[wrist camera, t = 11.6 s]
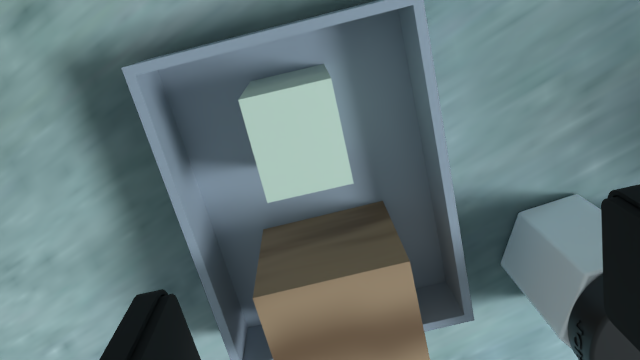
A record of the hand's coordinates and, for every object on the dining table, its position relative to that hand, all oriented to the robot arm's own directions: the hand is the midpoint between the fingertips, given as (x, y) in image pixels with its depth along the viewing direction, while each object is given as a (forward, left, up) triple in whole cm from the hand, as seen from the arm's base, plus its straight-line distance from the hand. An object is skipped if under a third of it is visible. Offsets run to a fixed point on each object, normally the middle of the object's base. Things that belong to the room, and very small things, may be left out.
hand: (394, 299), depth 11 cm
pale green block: (0, -2, -24) cm, 24 cm away
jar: (+16, +15, -25) cm, 33 cm away
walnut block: (+11, -2, -24) cm, 26 cm away
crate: (+5, -2, -24) cm, 25 cm away
